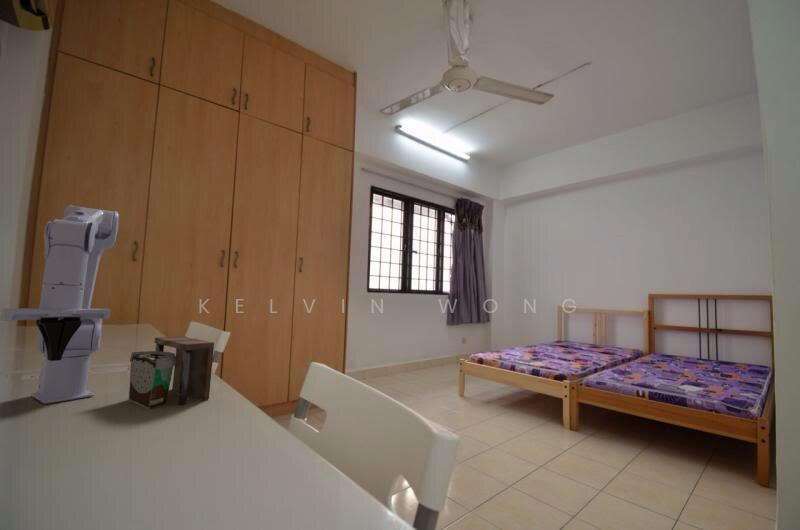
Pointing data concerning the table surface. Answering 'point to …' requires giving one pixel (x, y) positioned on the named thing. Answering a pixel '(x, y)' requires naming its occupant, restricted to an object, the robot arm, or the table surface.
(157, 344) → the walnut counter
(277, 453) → the table surface
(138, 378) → the food container
